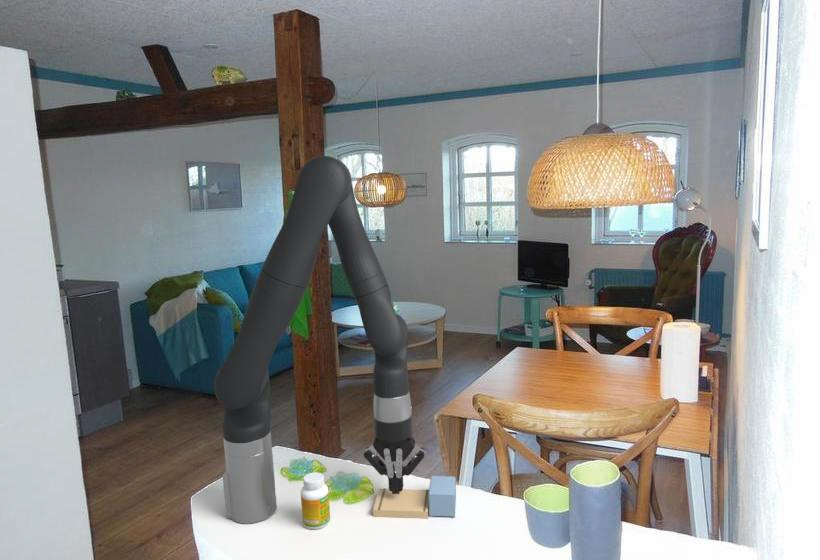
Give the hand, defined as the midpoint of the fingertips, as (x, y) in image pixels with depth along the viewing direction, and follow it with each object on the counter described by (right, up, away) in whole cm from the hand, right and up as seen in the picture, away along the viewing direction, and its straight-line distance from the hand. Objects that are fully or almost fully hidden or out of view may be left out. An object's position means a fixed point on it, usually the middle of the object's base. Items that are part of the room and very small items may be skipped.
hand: (396, 492), depth 122 cm
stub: (+9, -3, -1) cm, 10 cm away
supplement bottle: (-16, -5, -4) cm, 17 cm away
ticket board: (+1, -3, 0) cm, 3 cm away
